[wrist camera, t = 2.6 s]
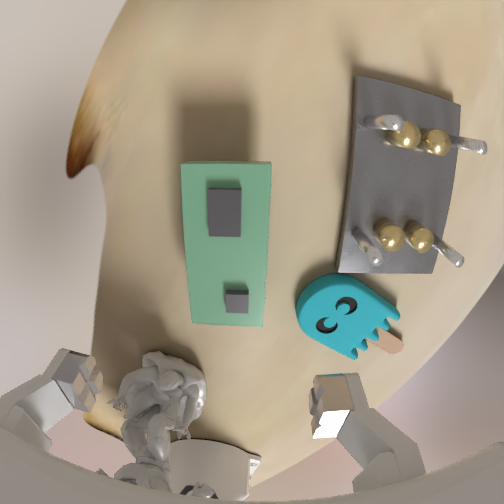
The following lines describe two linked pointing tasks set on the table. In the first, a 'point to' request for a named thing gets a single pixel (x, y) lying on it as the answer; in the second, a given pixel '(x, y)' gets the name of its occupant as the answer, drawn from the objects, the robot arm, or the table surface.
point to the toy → (346, 315)
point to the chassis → (399, 179)
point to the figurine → (158, 417)
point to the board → (226, 239)
